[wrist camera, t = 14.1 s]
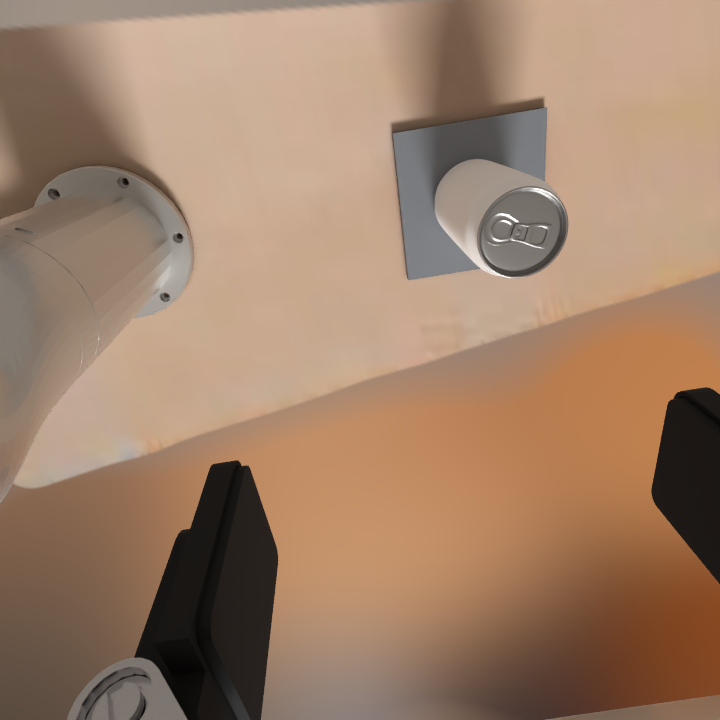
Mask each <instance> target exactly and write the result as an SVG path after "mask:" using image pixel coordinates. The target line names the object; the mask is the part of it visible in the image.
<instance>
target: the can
mask: <svg viewBox="0 0 720 720" xmlns="http://www.w3.org/2000/svg"><path fill="white" fill-rule="evenodd" d="M435 214H436V217H437V220H438V222H439V224H440V225H441V227H442V228H443V229H444V231H445V232H446V233H447V234H448V235H449V236H450V237H451V239H452V240H453V241H454V242H455V243H456V244H457V245H458V246H459V247H460V248H461V249H462V251H463V252H464V253H465V254H466V255H467V256H468V257H469V258H470V259H471V260H472V261H473V262H474V263H475V264H476V265H477V266H478V267H479V268H481V269H482V270H484V271H486V272H488V273H490V274H493V275H496V276H502V277H507V278H524V277H528V276H531V275H533V274H536V273H538V272H540V271H541V270H543V269H544V268H546V267H547V266H548V265H549V264H550V263H551V262H552V261H553V260H554V259H555V258H556V257H557V256H558V254H559V253H560V251H561V249H562V247H563V245H564V243H565V240H566V237H567V233H568V216H567V212H566V209H565V207H564V205H563V203H562V202H561V200H560V198H559V196H558V195H557V193H556V192H555V190H554V189H553V188H552V187H551V186H550V185H548V184H547V183H546V182H544V181H543V180H541V179H539V178H536V177H534V176H532V175H529V174H526V173H523V172H521V171H518V170H515V169H512V168H509V167H507V166H504V165H501V164H498V163H495V162H492V161H488V160H484V159H471V160H467V161H464V162H461V163H459V164H458V165H456V166H454V167H453V168H452V169H451V170H449V171H448V172H447V173H446V175H445V176H444V177H443V178H442V180H441V181H440V183H439V185H438V187H437V190H436V194H435Z"/></svg>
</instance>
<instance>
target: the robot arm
mask: <svg viewBox="0 0 720 720" xmlns="http://www.w3.org/2000/svg"><path fill="white" fill-rule="evenodd" d="M125 178H126V179H127V180H128V181H129V185H128V184H126V183H125V182H124V179H125ZM57 191H58V192H59V193H60V195H58V194H57ZM178 233H180V234H182V236H183V238H180V237H179V236H178ZM193 261H194V252H193V243H192V239H191V235H190V232H189V229H188V227H187V225H186V222H185V220H184V218H183V216H182V215H181V213H180V212H179V210H178V209H177V207H176V206H175V205H174V203H173V202H172V201H171V200H170V199H169V198H168V197H167V196H166V195H165V194H164V193H163V192H162V191H161V190H160V189H159V188H157V187H156V186H155V185H153V184H152V183H151V182H149V181H148V180H146V179H144V178H142V177H140V176H138V175H137V174H135V173H133V172H129V171H126V170H123V169H120V168H117V167H110V166H102V165H98V166H85V167H81V168H76V169H72V170H70V171H67V172H65V173H63V174H60V175H58V176H57V177H56V178H54V179H53V180H52V181H50V182H49V183H48V184H47V185H46V186H45V187H44V189H43V190H42V191H41V192H40V194H39V195H38V197H37V200H36V202H35V204H34V206H33V208H31V209H28V210H25V211H22V212H19V213H16V214H13V215H11V216H8V217H5V218H2V219H0V502H1V501H2V500H3V498H4V497H5V495H6V494H7V492H8V490H9V489H10V487H11V485H12V483H13V482H14V480H15V478H16V476H17V474H18V472H19V470H20V468H21V466H22V464H23V462H24V460H25V458H26V456H27V454H28V451H29V449H30V447H31V445H32V443H33V441H34V439H35V437H36V435H37V433H38V431H39V429H40V427H41V425H42V424H43V422H44V421H45V419H46V418H47V416H48V414H49V413H50V412H51V410H52V409H53V408H54V406H55V405H56V404H57V402H58V401H59V400H60V399H61V397H62V396H63V395H64V394H65V393H66V392H67V390H68V389H69V388H70V387H71V386H72V385H73V384H74V382H75V381H76V380H77V379H78V378H79V377H80V376H81V375H82V374H83V373H84V371H85V370H86V369H87V368H88V367H89V366H90V365H91V364H92V363H93V362H94V361H95V360H96V359H97V358H98V357H99V355H100V354H101V353H102V352H103V351H104V350H105V349H106V348H107V347H108V346H109V344H110V343H111V342H112V341H113V340H114V339H115V338H116V337H117V336H118V335H119V333H120V332H121V331H122V330H123V329H124V328H125V327H126V326H127V325H128V324H129V322H130V321H131V320H132V319H133V318H142V317H146V316H150V315H154V314H156V313H158V312H160V311H162V310H164V309H166V308H167V307H168V306H169V305H171V304H172V303H173V302H174V301H175V300H176V299H177V298H178V297H179V296H180V294H181V293H182V292H183V290H184V289H185V287H186V285H187V284H188V282H189V279H190V276H191V273H192V269H193ZM165 293H167V294H169V296H167V295H166V294H165ZM652 497H653V500H654V503H655V505H656V506H657V507H658V508H659V510H660V511H661V512H662V514H663V515H664V516H665V517H666V518H667V520H668V521H669V522H670V523H671V525H672V526H673V527H674V528H675V530H676V531H677V532H678V533H679V534H680V536H681V537H682V538H683V539H684V541H685V542H686V543H687V544H688V546H689V547H690V548H691V549H692V550H693V552H694V553H695V554H696V555H697V556H698V558H699V559H700V560H701V561H702V563H703V564H704V565H705V566H706V568H707V569H708V570H709V571H710V572H711V574H712V575H713V576H714V577H715V579H716V580H717V581H718V582H719V584H720V394H718V393H717V392H716V391H714V390H712V389H710V388H699V389H692V390H686V391H680V392H678V393H677V394H676V395H675V397H674V399H673V400H670V401H669V402H668V405H667V410H666V416H665V421H664V426H663V431H662V437H661V442H660V447H659V453H658V458H657V463H656V469H655V474H654V479H653V484H652ZM277 567H278V553H277V548H276V544H275V541H274V538H273V535H272V532H271V529H270V526H269V523H268V520H267V517H266V514H265V511H264V509H263V506H262V503H261V500H260V497H259V494H258V491H257V488H256V485H255V482H254V479H253V476H252V473H251V470H250V468H249V466H241V464H240V462H239V461H230V462H224V463H217V464H213V465H212V466H211V468H210V470H209V473H208V476H207V479H206V482H205V485H204V488H203V491H202V494H201V498H200V501H199V504H198V507H197V510H196V513H195V516H194V519H193V522H192V525H191V528H190V529H186V530H182V531H181V532H180V533H179V534H178V536H177V538H176V540H175V543H174V546H173V548H172V551H171V554H170V557H169V560H168V563H167V566H166V569H165V572H164V574H163V577H162V580H161V583H160V585H159V588H158V591H157V594H156V597H155V600H154V603H153V605H152V609H151V611H150V614H149V617H148V620H147V623H146V625H145V629H144V631H143V634H142V637H141V640H140V642H139V645H138V648H137V651H136V654H135V657H134V658H128V659H125V660H122V661H120V662H117V663H114V664H113V665H111V666H110V667H108V668H106V669H105V670H103V671H102V672H100V673H99V674H98V675H97V676H96V677H95V678H94V679H93V680H92V681H91V682H90V683H88V684H87V686H86V687H85V688H84V689H83V691H82V692H81V693H80V695H79V696H78V697H77V699H76V700H75V703H74V704H73V707H72V709H71V711H70V713H69V715H68V718H67V720H261V713H262V703H263V695H264V686H265V676H266V667H267V658H268V649H269V640H270V631H271V622H272V613H273V604H274V594H275V586H276V585H275V584H276V577H277ZM548 720H720V695H717V696H710V697H702V698H695V699H688V700H681V701H674V702H666V703H659V704H653V705H645V706H638V707H632V708H625V709H618V710H610V711H604V712H597V713H589V714H583V715H576V716H569V717H562V718H555V719H548Z"/></svg>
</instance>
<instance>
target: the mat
mask: <svg viewBox="0 0 720 720" xmlns="http://www.w3.org/2000/svg"><path fill="white" fill-rule="evenodd" d="M546 127H547V108H539V109H533V110H527V111H521V112H515V113H509V114H503V115H497V116H491V117H485V118H479V119H473V120H467V121H461V122H455V123H449V124H443V125H437V126H431V127H425V128H419V129H414V130H408V131H402V132H396V133H392V136H393V146H394V155H395V165H396V174H397V183H398V193H399V202H400V212H401V221H402V231H403V240H404V250H405V259H406V269H407V278H408V280H413V279H419V278H425V277H431V276H438V275H444V274H450V273H456V272H462V271H468V270H475V269H481V268H479V267H478V266H477V265H476V264H475V263H474V262H473V261H472V260H471V259H470V258H469V257H468V256H467V255H466V254H465V253H464V252H463V251H462V249H461V248H460V247H459V246H458V245H457V244H456V243H455V242H454V241H453V240H452V239H451V237H450V236H449V235H448V234H447V233H446V232H445V231H444V229H443V228H442V227H441V225H440V224H439V222H438V220H437V217H436V214H435V194H436V190H437V187H438V185H439V183H440V181H441V180H442V178H443V177H444V176H445V175H446V173H447V172H448V171H449V170H451V169H452V168H453V167H454V166H456V165H458V164H459V163H461V162H464V161H467V160H471V159H484V160H488V161H492V162H495V163H498V164H501V165H504V166H507V167H509V168H512V169H515V170H518V171H521V172H523V173H526V174H529V175H532V176H534V177H536V178H539V179H541V180H543V181H544V182H545V157H546Z"/></svg>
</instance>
